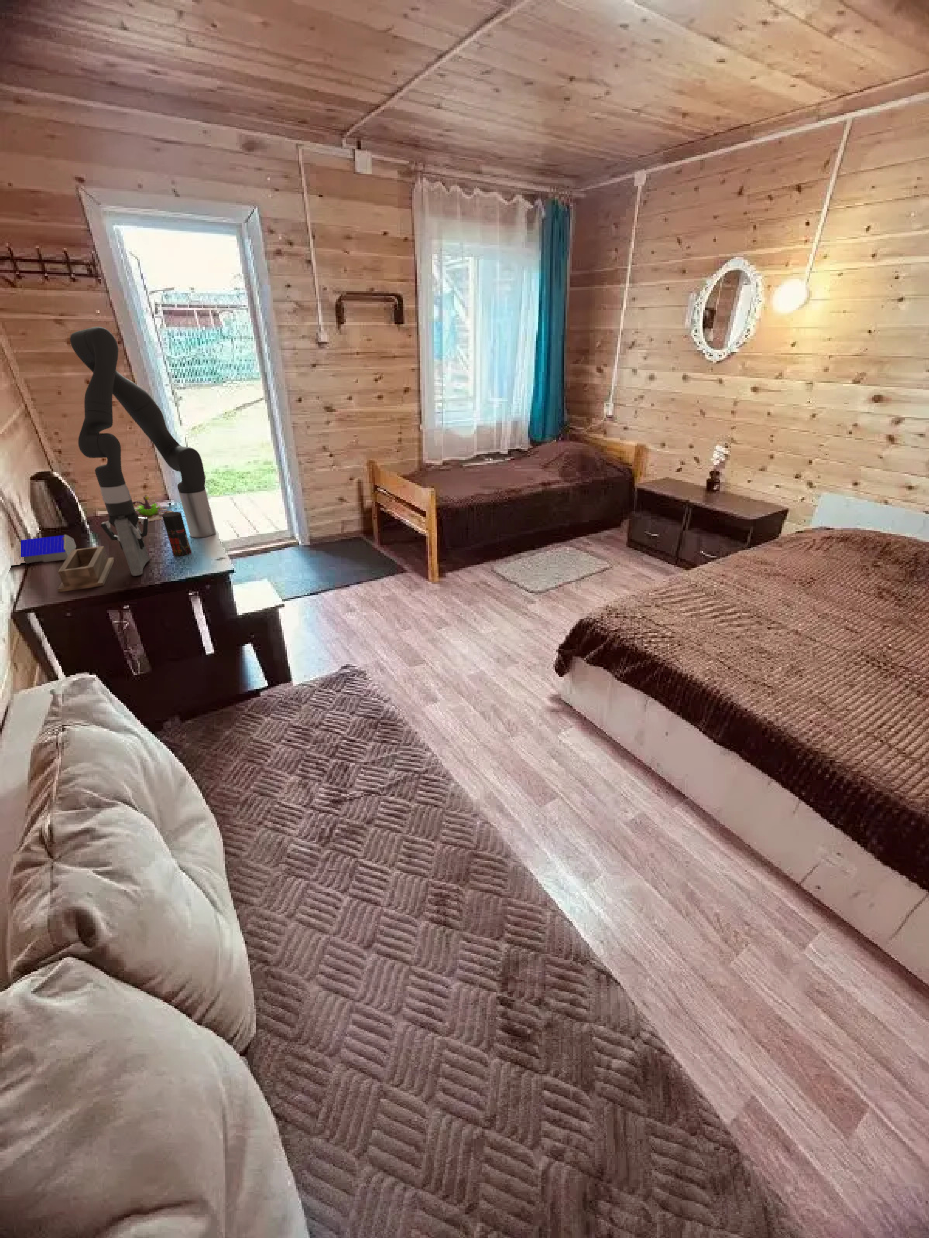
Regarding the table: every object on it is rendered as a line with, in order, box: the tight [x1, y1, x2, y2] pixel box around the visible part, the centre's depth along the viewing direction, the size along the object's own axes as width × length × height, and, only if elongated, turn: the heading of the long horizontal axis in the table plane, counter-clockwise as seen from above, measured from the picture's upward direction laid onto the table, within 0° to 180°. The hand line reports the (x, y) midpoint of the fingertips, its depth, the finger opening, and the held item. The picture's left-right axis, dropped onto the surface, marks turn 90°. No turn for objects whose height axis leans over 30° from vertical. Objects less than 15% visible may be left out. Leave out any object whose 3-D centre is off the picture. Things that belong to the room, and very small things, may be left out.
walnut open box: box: [57, 545, 115, 593], centre depth 171 cm, size 12×24×6 cm, turn 24°
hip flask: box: [114, 516, 150, 577], centre depth 172 cm, size 16×4×20 cm, turn 19°
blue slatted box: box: [20, 534, 77, 564], centre depth 185 cm, size 22×14×7 cm, turn 112°
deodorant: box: [162, 511, 192, 558], centre depth 185 cm, size 6×6×15 cm
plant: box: [132, 494, 174, 524], centre depth 224 cm, size 20×20×11 cm
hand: (134, 549), depth 174 cm, fingers closed on hip flask, 4 cm apart
